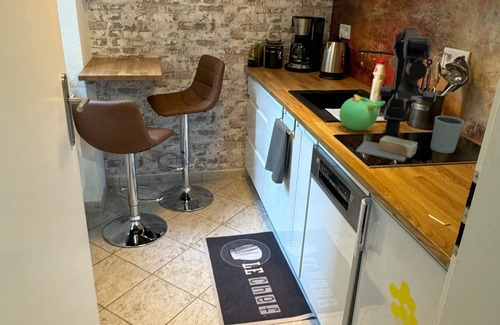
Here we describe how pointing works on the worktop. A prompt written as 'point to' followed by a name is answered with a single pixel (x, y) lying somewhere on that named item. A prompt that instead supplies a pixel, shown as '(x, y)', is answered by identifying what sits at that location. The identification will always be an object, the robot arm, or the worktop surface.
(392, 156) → the mat
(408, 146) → the skincare box
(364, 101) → the green teapot
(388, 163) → the worktop surface
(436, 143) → the grey cup
